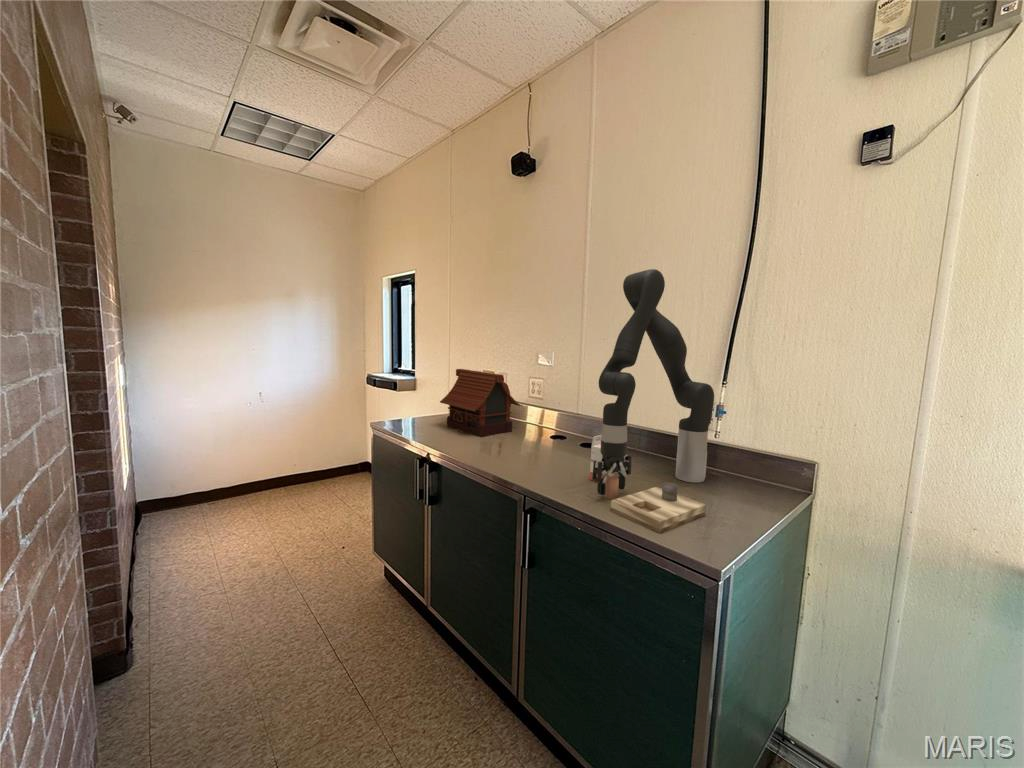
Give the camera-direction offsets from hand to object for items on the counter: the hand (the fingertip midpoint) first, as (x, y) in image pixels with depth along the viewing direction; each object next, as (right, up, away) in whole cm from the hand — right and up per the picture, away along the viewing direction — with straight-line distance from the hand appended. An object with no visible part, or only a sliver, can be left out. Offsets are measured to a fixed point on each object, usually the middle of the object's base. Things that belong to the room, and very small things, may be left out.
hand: (611, 491), depth 129 cm
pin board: (+10, -3, -11) cm, 15 cm away
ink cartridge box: (+1, 0, +16) cm, 17 cm away
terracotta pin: (0, -2, 0) cm, 2 cm away
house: (-47, +10, +87) cm, 100 cm away
